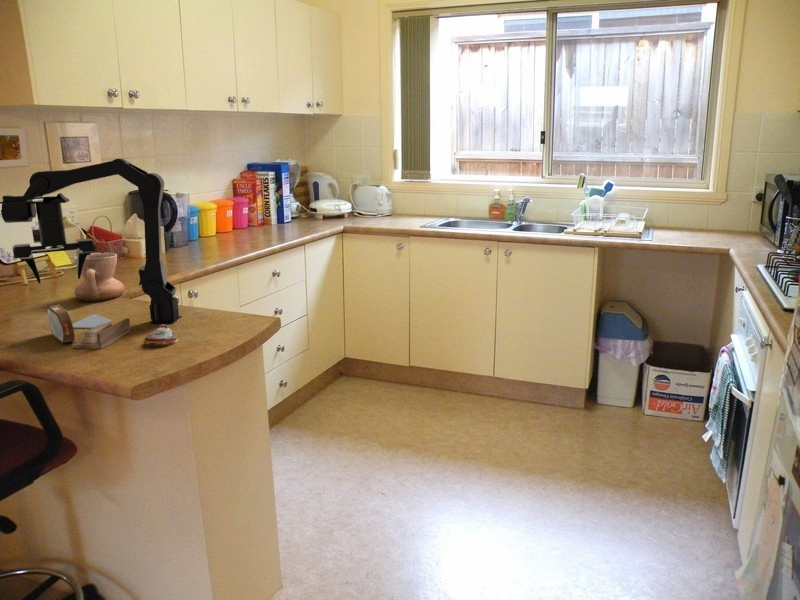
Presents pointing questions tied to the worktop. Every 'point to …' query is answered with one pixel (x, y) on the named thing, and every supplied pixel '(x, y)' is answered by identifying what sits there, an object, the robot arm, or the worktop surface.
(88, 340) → the offcut lower
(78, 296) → the ceramic jug
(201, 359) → the worktop surface
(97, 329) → the offcut upper
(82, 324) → the slate mat
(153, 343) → the pastry
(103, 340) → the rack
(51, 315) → the tin
